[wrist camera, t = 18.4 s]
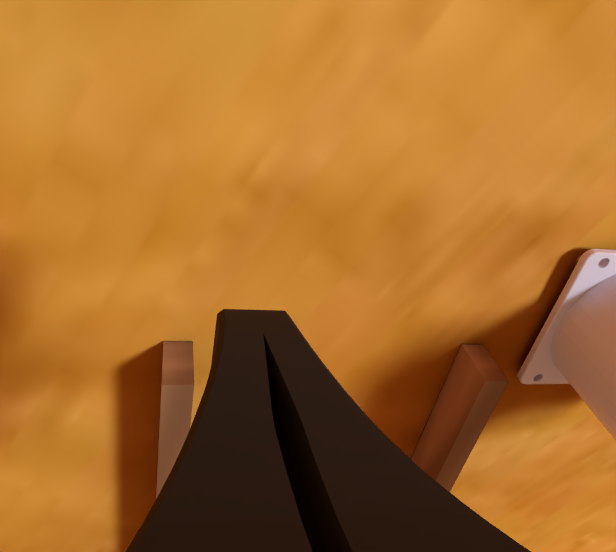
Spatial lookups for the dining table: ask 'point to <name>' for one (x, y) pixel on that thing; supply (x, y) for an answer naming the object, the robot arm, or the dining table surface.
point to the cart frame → (432, 444)
